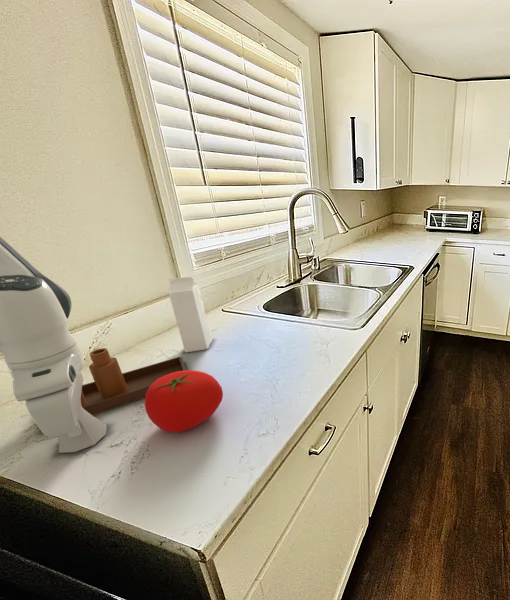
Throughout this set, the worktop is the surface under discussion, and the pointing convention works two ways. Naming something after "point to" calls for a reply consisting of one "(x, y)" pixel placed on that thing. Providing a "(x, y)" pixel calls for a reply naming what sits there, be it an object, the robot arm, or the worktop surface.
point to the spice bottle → (107, 374)
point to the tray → (130, 385)
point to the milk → (189, 313)
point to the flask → (83, 433)
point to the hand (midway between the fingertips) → (77, 425)
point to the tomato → (182, 400)
